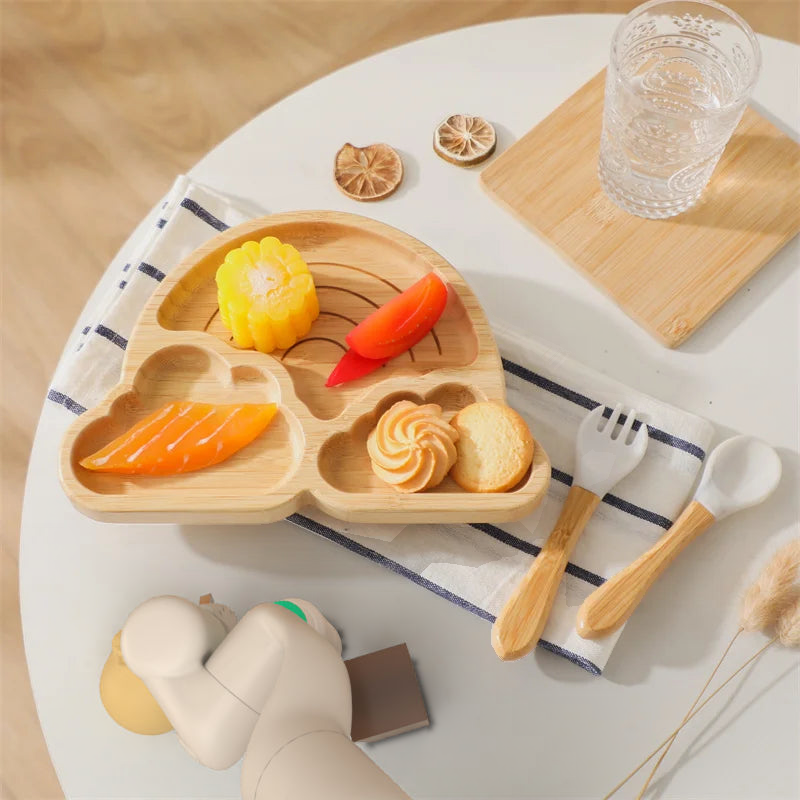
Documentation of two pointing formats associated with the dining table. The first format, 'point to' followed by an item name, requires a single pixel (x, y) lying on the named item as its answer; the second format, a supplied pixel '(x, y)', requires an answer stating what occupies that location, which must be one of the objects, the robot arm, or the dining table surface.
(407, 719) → the stand
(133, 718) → the sculpture
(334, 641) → the water bottle
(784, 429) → the dining table surface
